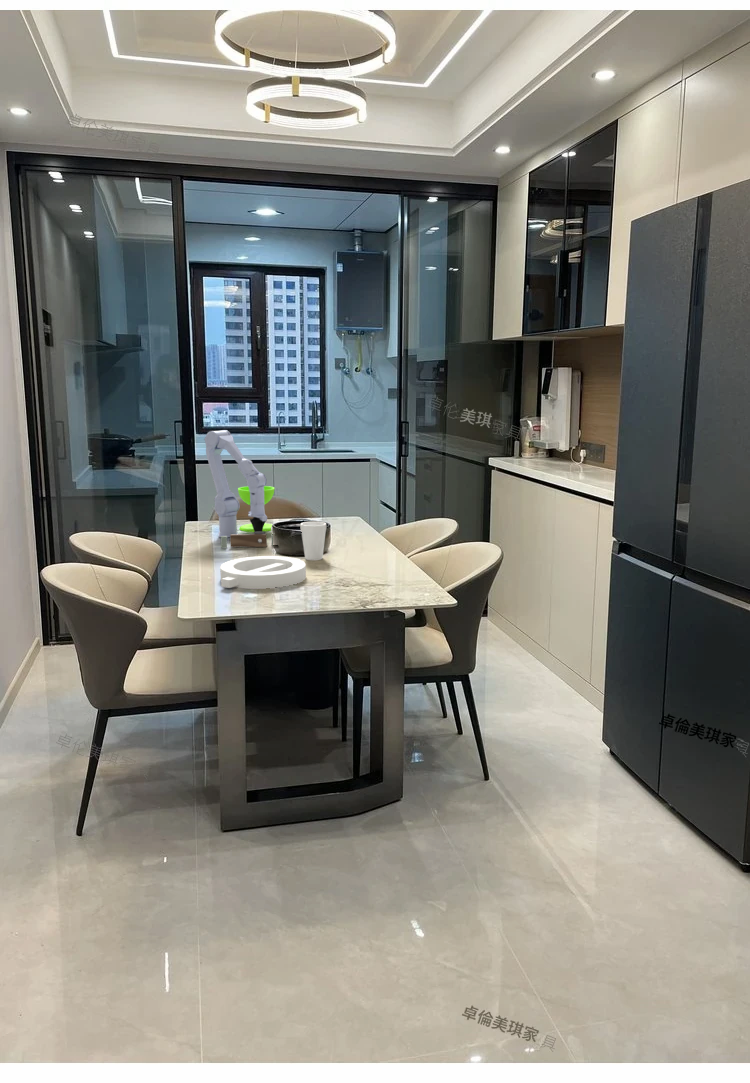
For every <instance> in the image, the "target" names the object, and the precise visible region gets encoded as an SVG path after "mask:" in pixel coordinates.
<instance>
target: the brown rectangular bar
mask: <svg viewBox="0 0 750 1083" xmlns="http://www.w3.org/2000/svg"><path fill="white" fill-rule="evenodd" d="M229 538H230V540H229V541H230V542H229V543H230V548H235V547H236V548H242V547H243V548H247V547H248V548H252V547H254V548H257V547H258V548H259V547H260V548H261V547H262V548H263V547H267V546H268V539H267V538H268V537H267V533H265V534H253V533H251V534H249V533H248V534H247V533H246V534H245V533H242V534H239V533H238V534H231V535H230V537H229Z"/></svg>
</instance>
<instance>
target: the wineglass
mask: <svg viewBox="0 0 750 1083" xmlns="http://www.w3.org/2000/svg"><path fill="white" fill-rule="evenodd" d="M275 488H276V487H274V486H270V485H269V486H268V485H265V486H264V506H266V504H268V503H269V502H270V501H271V500H272V498H273V496H274V494H275ZM237 492H238V495H239V497H240V499H241V500H242V501H243V502H244V503H245V504H247V505H248V506H250V491H249V487H248V486H240V487H238V488H237ZM272 525H273V524H272V523H265V524H264V526H263V530H262V531H265V532H271V527H272ZM239 531H241V532H247V533H254V529H253V526H252V524H251V523H247V524H242V525H241V526H239Z"/></svg>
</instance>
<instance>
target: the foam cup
mask: <svg viewBox="0 0 750 1083" xmlns="http://www.w3.org/2000/svg"><path fill="white" fill-rule="evenodd" d="M300 532H302V533H301V539H302V546H303V553H304V559H305V560H307V561H320V560H322V559H323V557H324V551H325V550H324V548H325V540H326V532H327V523H326V522H323V521H304V522H301V523H300Z"/></svg>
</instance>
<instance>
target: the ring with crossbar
mask: <svg viewBox="0 0 750 1083" xmlns="http://www.w3.org/2000/svg"><path fill="white" fill-rule="evenodd" d="M306 565H307V563H305V561H303V560H302V558H296V557H290V556H289V557H288V556H280V555H279V556H278V555H260V556H259V555H257V556H248V557H240V558H235V559H231V560H228V561H226V562H222V563H221V565H220V569H219V570H220V583H221V585H220V586H221V587H222V588H228V589H231V588H237V587H238V589H247V590H248V589H249V590H250V589H251V590H267V589H266V588H270V589H276V588H275V587H280V588H284V587H283V586H286V587H290V586H289V585H291V586H294V585H293V584H295V585H298V584H300V583H302V582H304V581H306V577H307V575H306V574H307V570H306V569H307V568H306V567H307V566H306ZM303 580H304V581H303ZM297 583H298V584H297Z"/></svg>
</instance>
